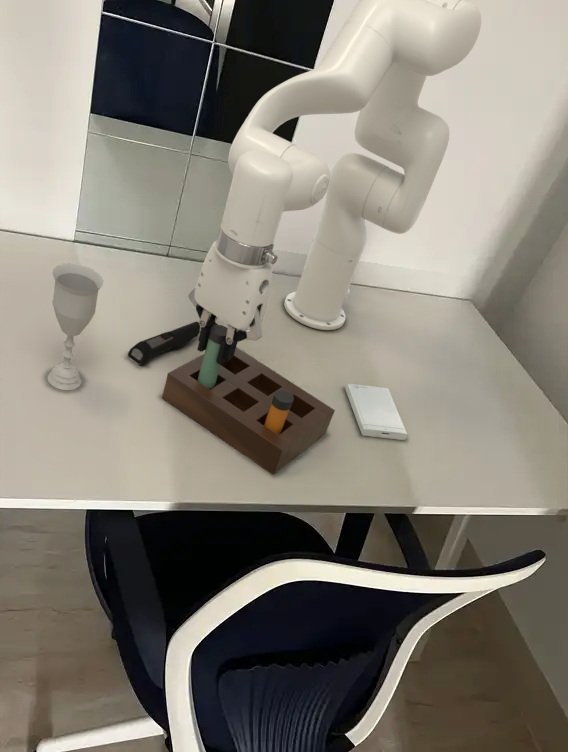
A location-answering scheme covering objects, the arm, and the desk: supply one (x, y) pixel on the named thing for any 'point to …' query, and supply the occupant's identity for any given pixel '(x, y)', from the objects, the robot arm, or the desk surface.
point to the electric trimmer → (163, 343)
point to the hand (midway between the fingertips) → (214, 353)
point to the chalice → (72, 315)
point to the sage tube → (212, 356)
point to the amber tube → (278, 411)
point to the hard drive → (376, 412)
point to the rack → (248, 409)
